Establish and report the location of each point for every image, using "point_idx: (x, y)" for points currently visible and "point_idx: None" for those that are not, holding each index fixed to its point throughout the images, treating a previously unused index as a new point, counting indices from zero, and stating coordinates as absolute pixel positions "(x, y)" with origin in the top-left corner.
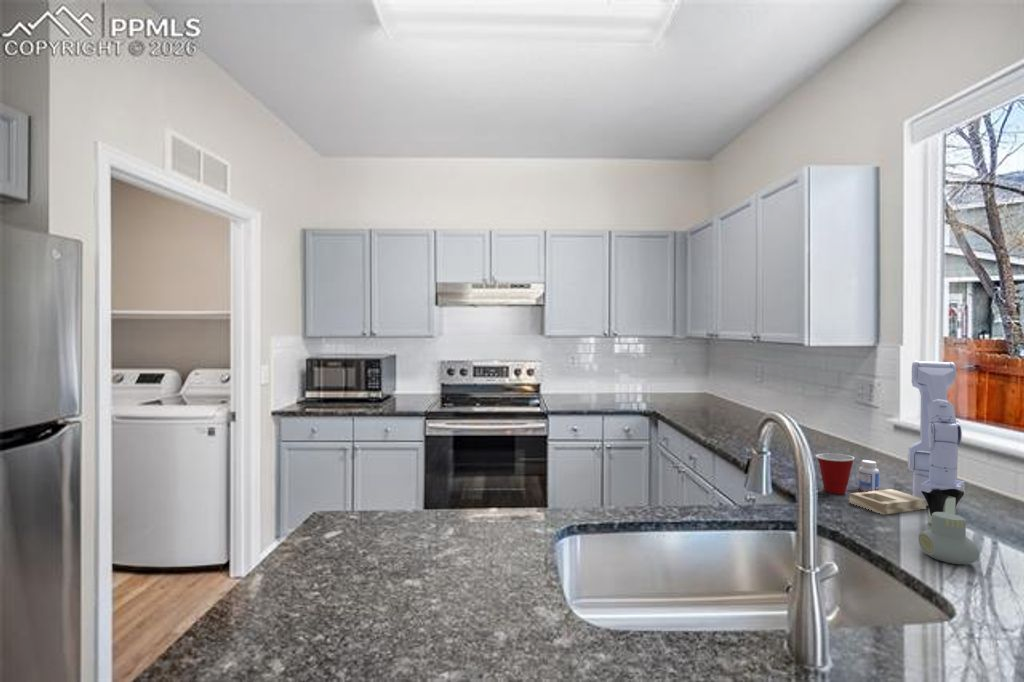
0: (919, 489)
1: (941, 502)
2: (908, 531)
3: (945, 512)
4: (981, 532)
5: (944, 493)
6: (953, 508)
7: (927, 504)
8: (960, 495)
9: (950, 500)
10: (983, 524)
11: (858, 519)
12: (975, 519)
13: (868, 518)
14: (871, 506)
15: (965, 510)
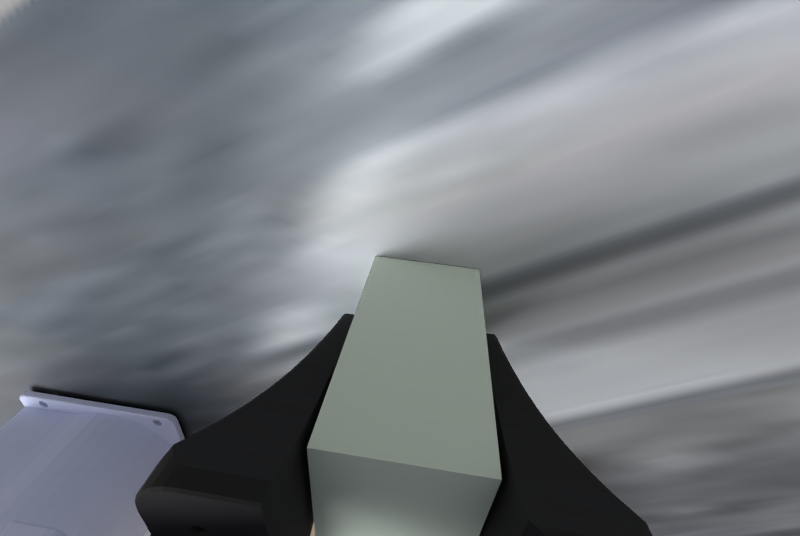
0: (137, 528)
1: (568, 451)
2: (792, 336)
3: (484, 348)
4: (298, 128)
5: (300, 522)
6: (368, 353)
7: (175, 436)
8: (245, 455)
9: (410, 436)
10: (116, 204)
11: (766, 494)
12: (88, 265)
13: (694, 481)
14: None
15: (21, 342)
